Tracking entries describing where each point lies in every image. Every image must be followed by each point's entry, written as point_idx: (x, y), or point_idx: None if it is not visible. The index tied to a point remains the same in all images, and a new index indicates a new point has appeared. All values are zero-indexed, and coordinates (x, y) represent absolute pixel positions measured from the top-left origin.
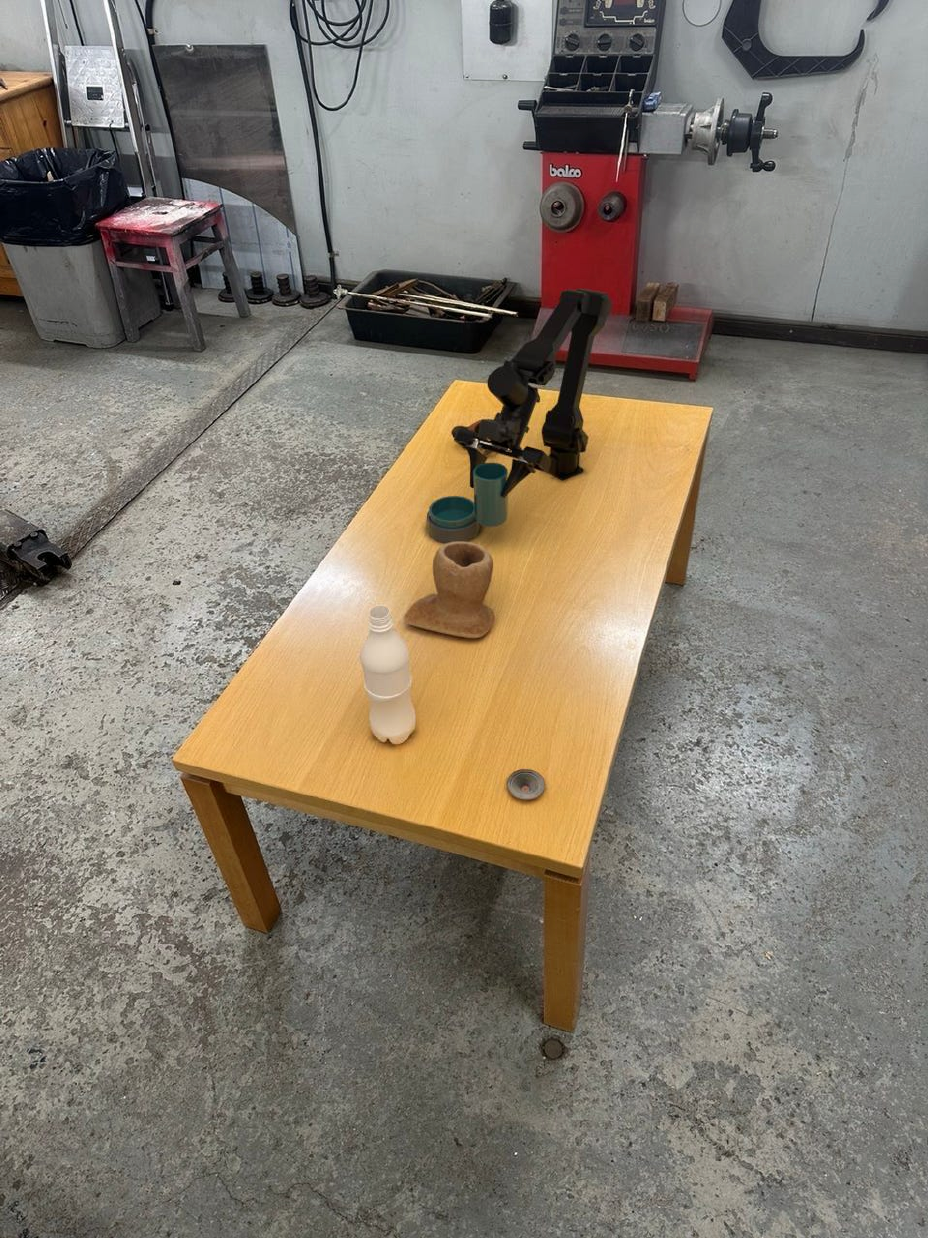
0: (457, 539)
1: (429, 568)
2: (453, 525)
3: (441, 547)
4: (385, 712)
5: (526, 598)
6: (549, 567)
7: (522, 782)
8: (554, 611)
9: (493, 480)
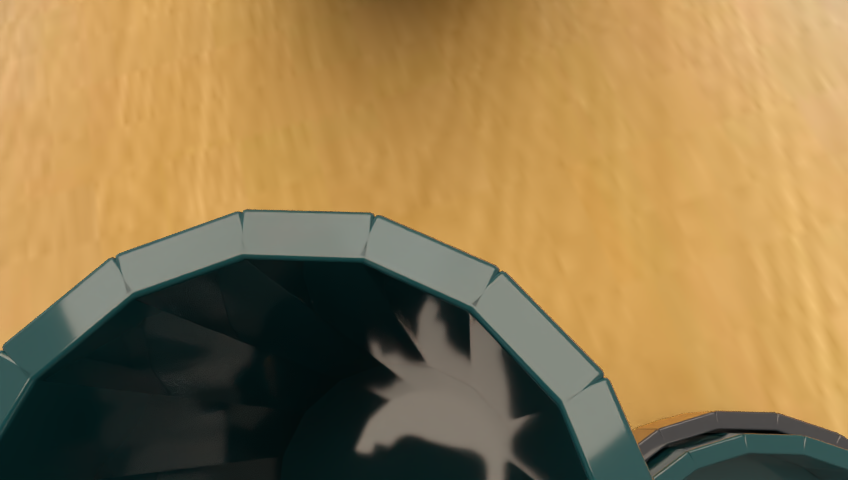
0: (633, 431)
1: (679, 172)
2: (692, 443)
3: None
4: None
5: (154, 100)
6: None
7: None
8: (27, 58)
9: (137, 248)
